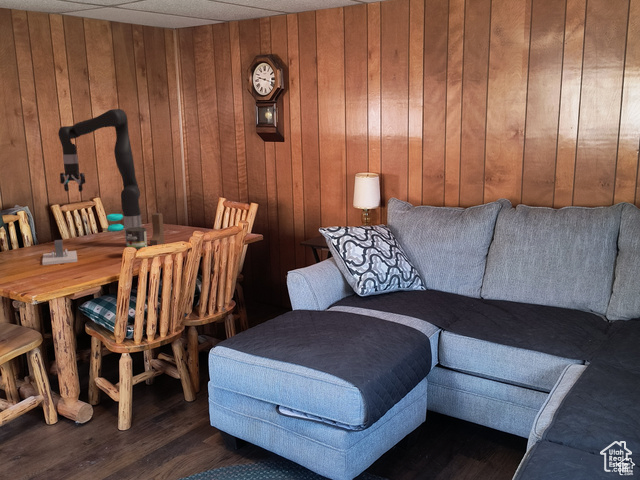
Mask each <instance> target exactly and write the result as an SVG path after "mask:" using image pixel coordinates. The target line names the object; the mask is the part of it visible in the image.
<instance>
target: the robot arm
mask: <svg viewBox="0 0 640 480" xmlns="http://www.w3.org/2000/svg"><path fill="white" fill-rule="evenodd" d="M128 122H129V121H128V115H127V113H126V111H124V109H121V108H115V109H114V108H112V109H109V110H107V111H105V112H103V113H102V114H100V115H98V116H96V117H93V118H88V119H85V120H82V121H79V122H76V123H75V124H74V125H70V126H69V125H68V126H61V127H60V128H59V129H58V133H57V134H58V138H59V142H60V144H61V147H62V152H63V153H62V155H63V156H62V157H63V159H62V160H63V167H64V168H63V170H64V172H60V173H59V181H60V184H61V185H62V184H63V186H64V188H63V189H64V191H65V192H69V183H70V181H71V182H74V181H75V182H76V183H77V184H78V192H80V193H81V192H82V191H83V190H84V187H83V186H84V185H85V184H86V183H87V182H86V176H85V173H84V172H80V171H79V170H80V168H79V157H78V152H77V150H78V149H77V145H76V144H75V143H73V142H72V140H74V139H77V138H79V137H81V136H84V135H89V134H91V133H93V132H95V131H97V130H100V129H102V128H109V127H111V128H112V127H114V128H115V135H116V138H115V139H116V140H115V144H114V149H113V153H114V159H115V163H116V167H117V169H118V171H119V174H120V177H121V180H122V186H123V187H122V188H123V189H122V191H121V193H120V201H121V210H122V215H123V226H124V235H125V236H124V237H125V246H126V247H127V238H126V229H128V228H134V227H142V225H143V224H142V215H141V214H142V213H141V208H140V203H139V199H140V197H141V191H140V188H139V184H138V181H137V177H136V170H135V162H134V156H133V150H132V145H131V139H130V135H129V123H128Z"/></svg>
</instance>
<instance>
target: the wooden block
mask: <svg viewBox="0 0 640 480" xmlns="http://www.w3.org/2000/svg"><path fill="white" fill-rule="evenodd" d="M163 218H164V215H163V213H159V212H155V213H152V214H151V221H152V223H151V224H152V237H151V238H150V240H149V247H150V246H152V245H157V244H163V243H164V244H165V234H164V230H165V229H164V219H163Z"/></svg>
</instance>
